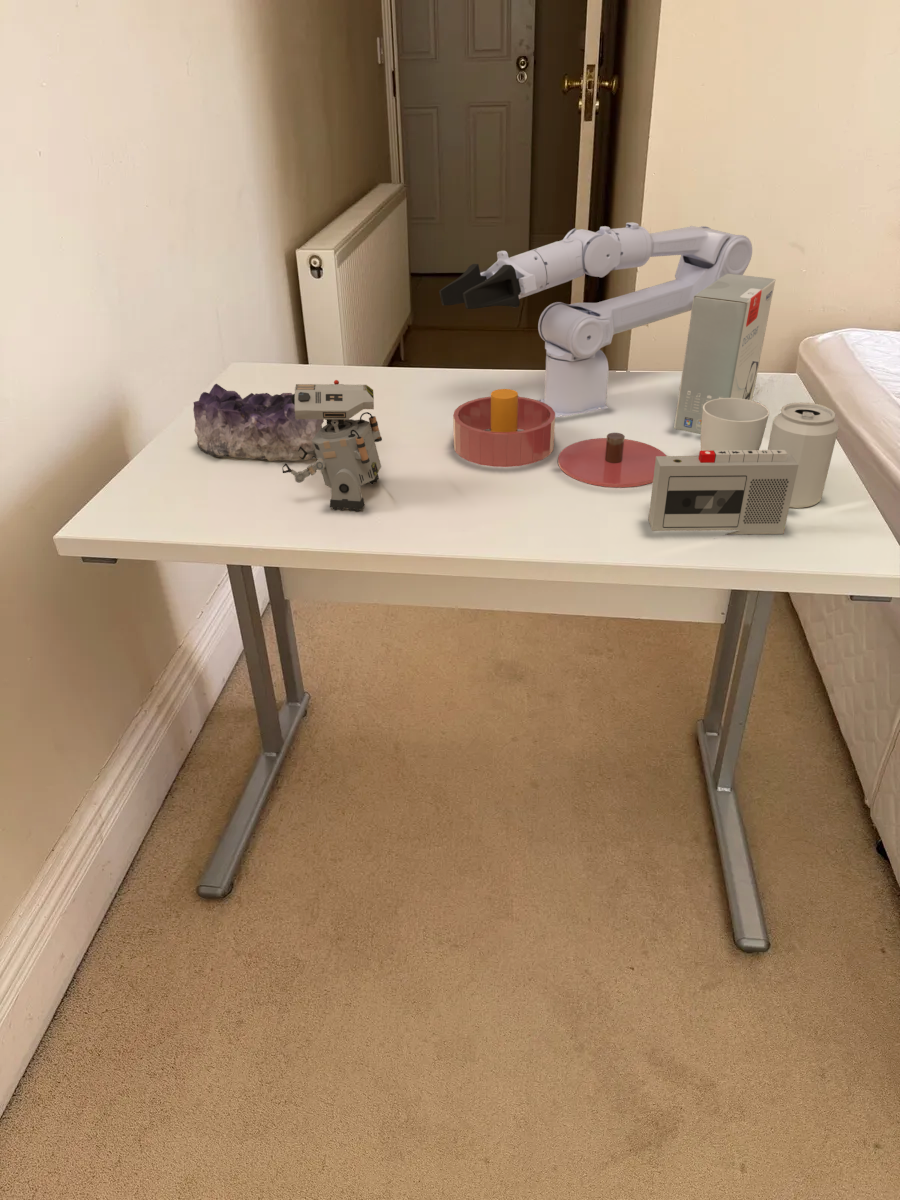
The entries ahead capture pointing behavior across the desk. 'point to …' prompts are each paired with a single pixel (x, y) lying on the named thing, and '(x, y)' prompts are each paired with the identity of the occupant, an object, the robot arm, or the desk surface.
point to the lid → (610, 461)
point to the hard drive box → (723, 345)
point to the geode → (252, 426)
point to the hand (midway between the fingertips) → (453, 299)
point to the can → (806, 447)
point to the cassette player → (723, 491)
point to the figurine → (340, 439)
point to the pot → (504, 434)
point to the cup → (733, 424)
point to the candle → (504, 410)
